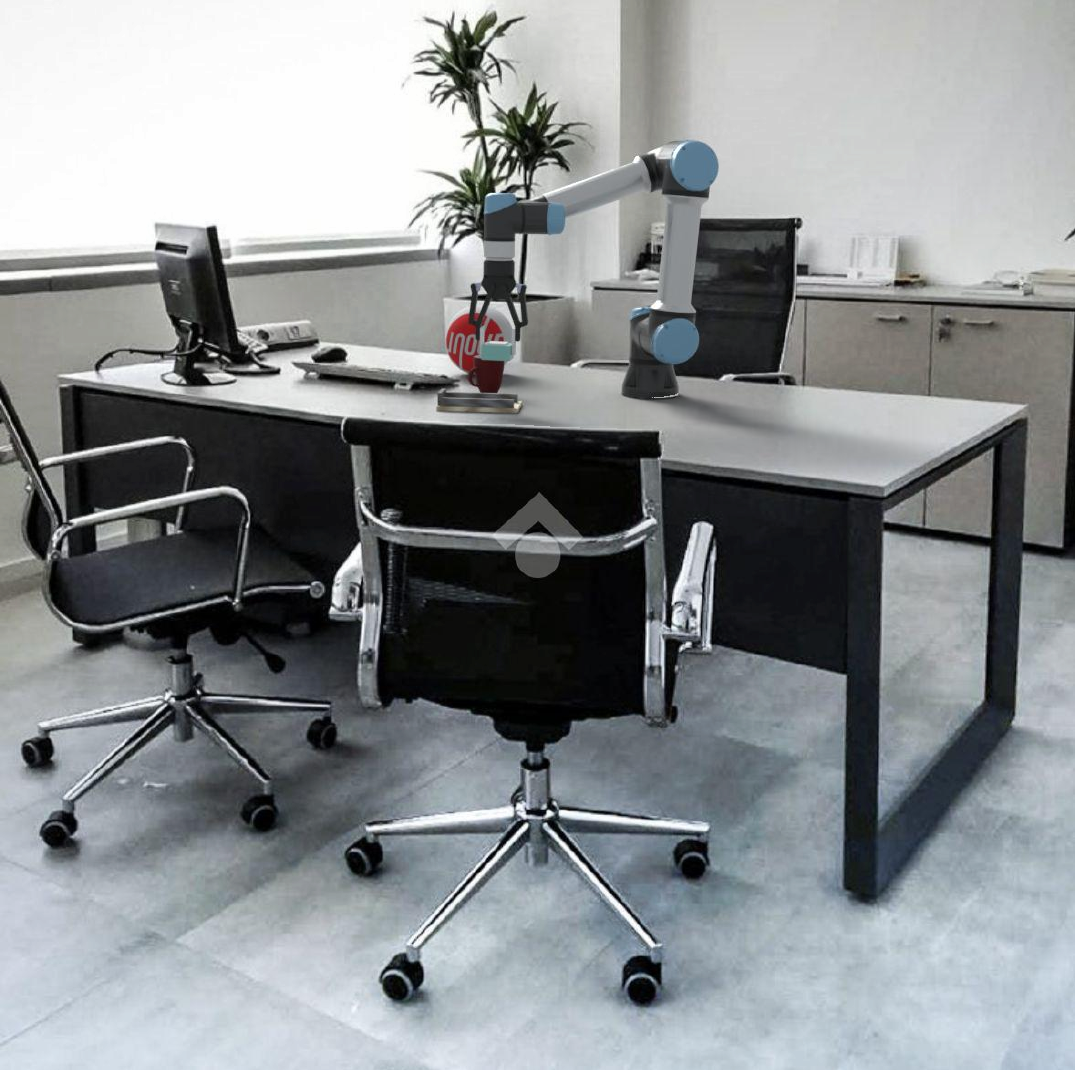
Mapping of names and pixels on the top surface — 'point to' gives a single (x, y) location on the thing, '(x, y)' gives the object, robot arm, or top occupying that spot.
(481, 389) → the mug
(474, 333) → the decorative sphere
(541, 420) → the top surface
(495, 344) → the block
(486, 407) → the rail mount
